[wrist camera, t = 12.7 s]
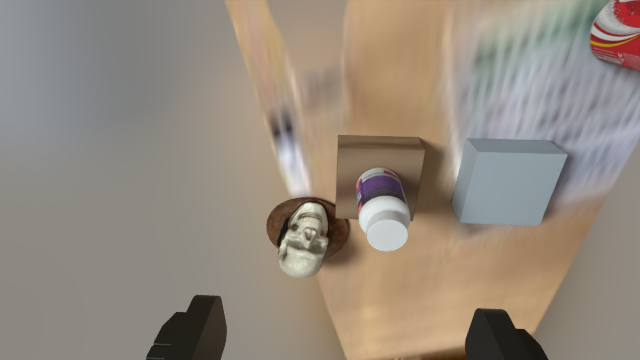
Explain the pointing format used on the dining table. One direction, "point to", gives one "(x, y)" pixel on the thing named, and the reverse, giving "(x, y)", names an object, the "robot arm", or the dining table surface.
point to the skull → (305, 235)
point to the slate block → (506, 181)
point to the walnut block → (376, 153)
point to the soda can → (617, 34)
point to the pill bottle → (382, 209)
